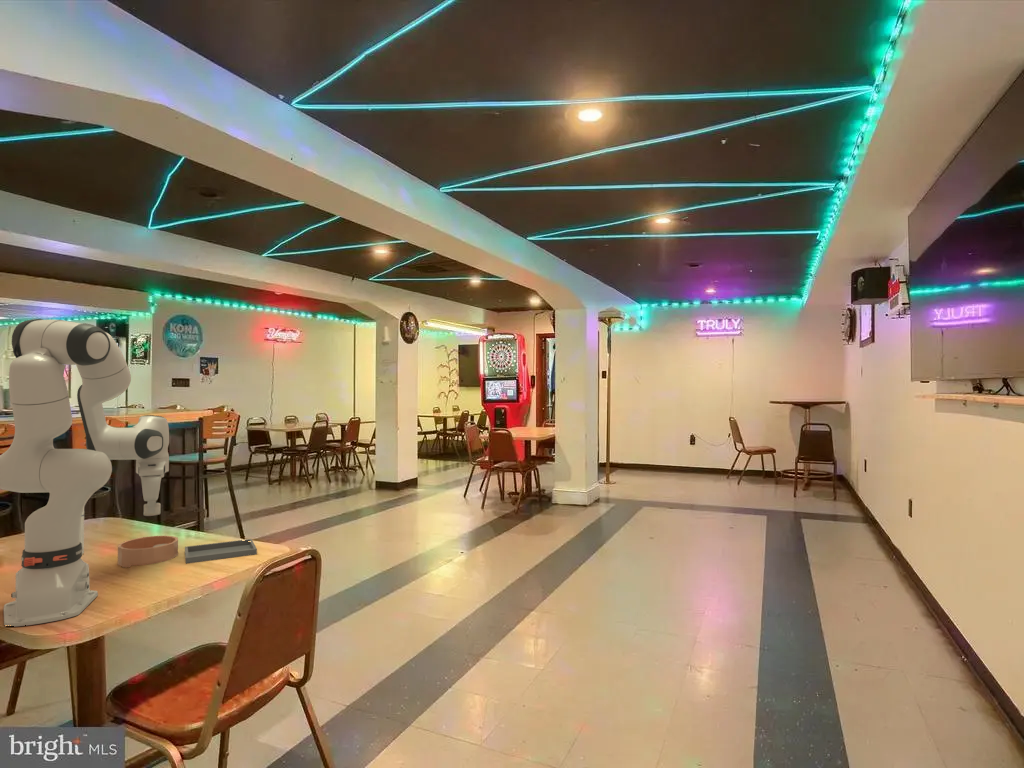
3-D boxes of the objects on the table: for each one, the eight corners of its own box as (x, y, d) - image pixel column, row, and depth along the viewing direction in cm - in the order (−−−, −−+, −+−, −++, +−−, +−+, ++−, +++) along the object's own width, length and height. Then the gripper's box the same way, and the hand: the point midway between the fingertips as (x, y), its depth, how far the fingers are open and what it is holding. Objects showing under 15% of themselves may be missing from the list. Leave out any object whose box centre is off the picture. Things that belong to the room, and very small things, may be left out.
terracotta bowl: (178, 562, 181) (178, 545, 181) (116, 570, 172) (116, 552, 172) (177, 549, 194) (177, 533, 194) (119, 556, 186) (120, 539, 186)
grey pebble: (160, 514, 182) (160, 504, 182) (143, 516, 179) (143, 506, 179) (160, 512, 185) (160, 502, 185) (144, 513, 183) (144, 503, 183)
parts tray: (256, 556, 188) (256, 548, 188) (185, 566, 177) (185, 557, 177) (251, 546, 200) (251, 538, 200) (184, 554, 189) (184, 546, 189)
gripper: (142, 463, 190) (141, 505, 190) (138, 471, 172) (137, 518, 172) (165, 462, 193) (164, 504, 193) (163, 470, 175) (162, 515, 175)
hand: (151, 510), depth 182 cm, fingers closed on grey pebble, 4 cm apart
